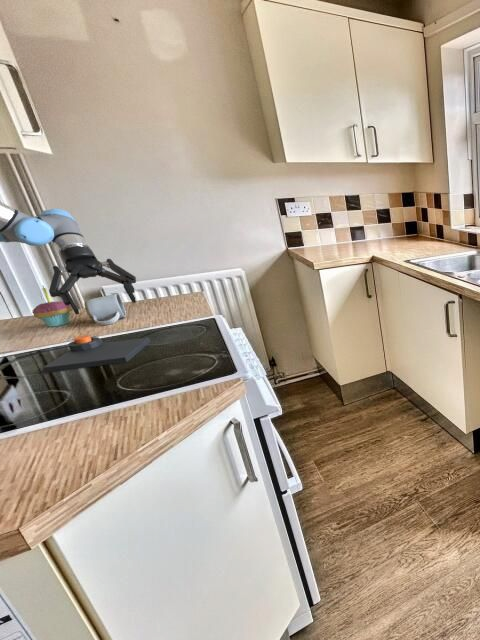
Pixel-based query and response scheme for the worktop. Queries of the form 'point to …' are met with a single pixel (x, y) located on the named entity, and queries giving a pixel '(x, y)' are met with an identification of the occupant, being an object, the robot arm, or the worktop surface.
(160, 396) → the worktop surface
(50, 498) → the worktop surface
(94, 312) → the ceramic mug
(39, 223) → the robot arm
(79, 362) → the scale
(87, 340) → the button
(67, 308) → the cupcake
